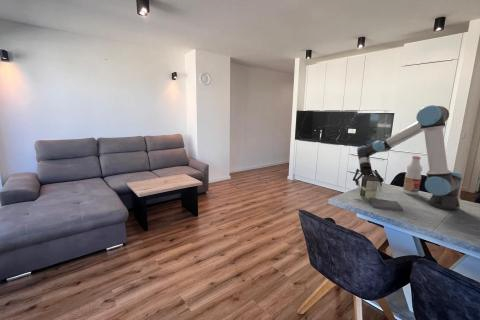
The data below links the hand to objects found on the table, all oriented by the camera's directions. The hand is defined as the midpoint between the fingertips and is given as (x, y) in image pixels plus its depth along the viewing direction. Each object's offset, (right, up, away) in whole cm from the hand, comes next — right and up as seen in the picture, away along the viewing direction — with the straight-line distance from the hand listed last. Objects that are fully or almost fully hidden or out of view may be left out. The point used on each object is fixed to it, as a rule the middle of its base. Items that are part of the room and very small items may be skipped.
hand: (369, 190), depth 162 cm
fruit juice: (+38, -4, +13) cm, 40 cm away
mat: (+3, -8, -12) cm, 15 cm away
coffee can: (0, -5, +3) cm, 6 cm away
